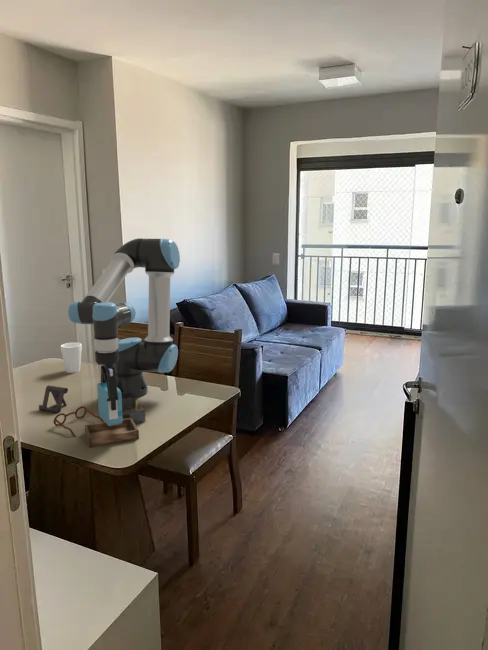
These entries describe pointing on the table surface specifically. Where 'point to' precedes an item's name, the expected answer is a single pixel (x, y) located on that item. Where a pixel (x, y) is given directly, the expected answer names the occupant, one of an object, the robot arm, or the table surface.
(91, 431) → the tray
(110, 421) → the data package
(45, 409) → the portable electronic device stand
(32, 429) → the table surface
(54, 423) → the glasses
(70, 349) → the foam cup
